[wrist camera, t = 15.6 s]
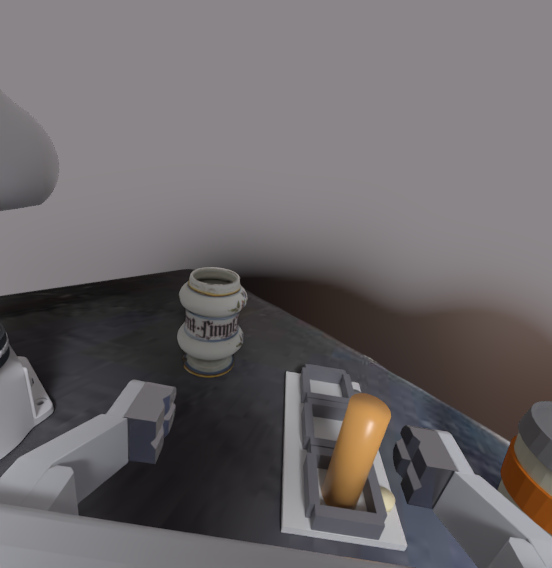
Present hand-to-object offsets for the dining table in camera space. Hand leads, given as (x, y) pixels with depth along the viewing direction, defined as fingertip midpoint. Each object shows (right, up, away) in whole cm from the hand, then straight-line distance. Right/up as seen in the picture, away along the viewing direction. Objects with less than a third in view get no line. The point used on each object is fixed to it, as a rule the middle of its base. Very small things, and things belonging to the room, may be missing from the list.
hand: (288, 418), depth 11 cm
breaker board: (+8, -19, +36) cm, 41 cm away
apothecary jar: (-14, -10, +49) cm, 52 cm away
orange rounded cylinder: (+7, -21, +27) cm, 35 cm away
